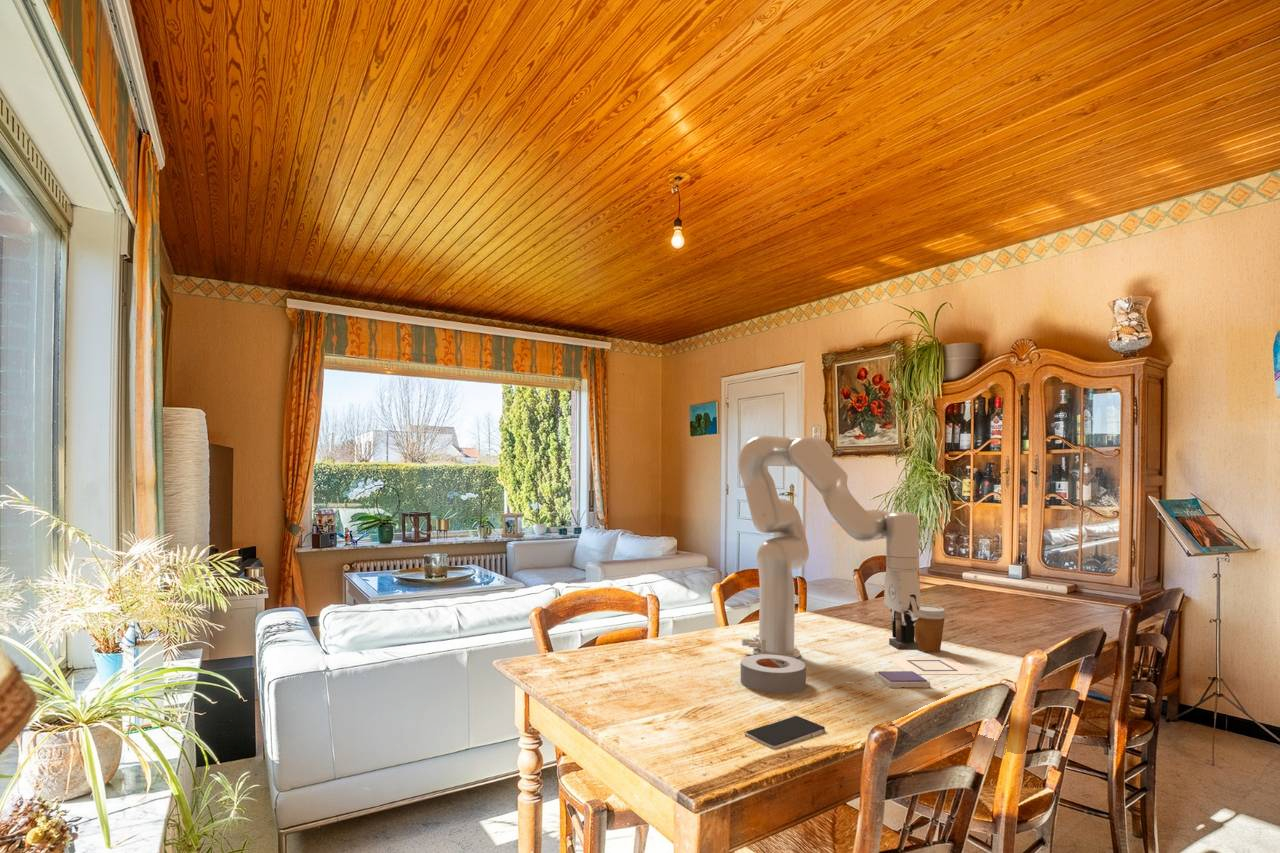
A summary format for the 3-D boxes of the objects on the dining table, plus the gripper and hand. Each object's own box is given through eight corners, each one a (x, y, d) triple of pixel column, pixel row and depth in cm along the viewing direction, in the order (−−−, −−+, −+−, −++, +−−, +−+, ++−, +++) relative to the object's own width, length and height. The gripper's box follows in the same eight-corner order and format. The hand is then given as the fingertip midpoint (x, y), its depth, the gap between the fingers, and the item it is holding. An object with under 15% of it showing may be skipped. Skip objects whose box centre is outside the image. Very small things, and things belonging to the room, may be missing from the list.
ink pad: (889, 687, 162) (889, 681, 162) (874, 676, 170) (874, 670, 170) (930, 687, 163) (930, 681, 163) (913, 676, 171) (913, 670, 171)
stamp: (898, 650, 164) (898, 611, 165) (889, 644, 169) (888, 607, 170) (918, 649, 164) (918, 611, 165) (908, 644, 169) (908, 606, 170)
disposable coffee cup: (952, 655, 190) (952, 612, 191) (917, 654, 191) (917, 611, 191) (937, 646, 200) (938, 604, 201) (904, 645, 200) (905, 604, 201)
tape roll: (726, 681, 165) (727, 660, 165) (768, 670, 174) (768, 650, 175) (778, 700, 153) (778, 676, 153) (819, 686, 163) (819, 664, 163)
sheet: (911, 675, 172) (911, 673, 172) (886, 659, 186) (886, 657, 186) (979, 674, 174) (979, 673, 174) (949, 658, 188) (949, 657, 188)
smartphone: (743, 731, 132) (795, 714, 141) (743, 738, 132) (795, 720, 141) (774, 746, 126) (827, 727, 135) (774, 753, 126) (827, 734, 135)
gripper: (873, 558, 176) (873, 631, 175) (904, 568, 159) (904, 649, 158) (901, 558, 176) (902, 631, 175) (935, 568, 160) (935, 648, 159)
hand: (903, 638), depth 167 cm, fingers closed on stamp, 3 cm apart
